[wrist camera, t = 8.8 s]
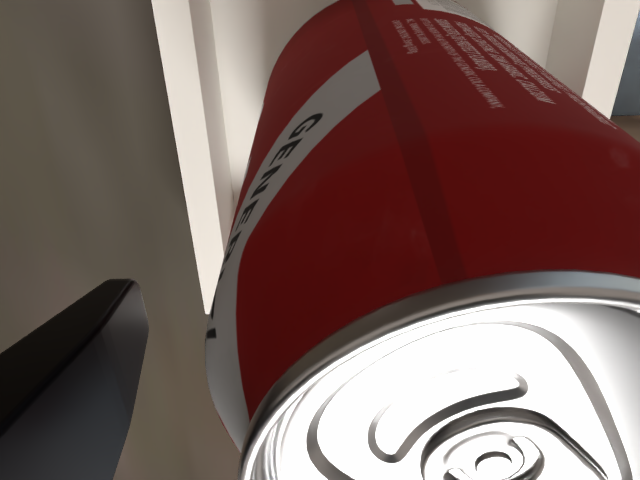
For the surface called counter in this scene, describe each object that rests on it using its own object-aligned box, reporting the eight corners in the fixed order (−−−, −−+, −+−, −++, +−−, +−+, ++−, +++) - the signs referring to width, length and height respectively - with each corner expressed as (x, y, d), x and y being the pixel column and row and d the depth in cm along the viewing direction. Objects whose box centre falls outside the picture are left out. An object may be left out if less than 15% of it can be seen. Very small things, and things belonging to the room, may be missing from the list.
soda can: (407, -82, 13) (706, 4, 3) (548, 119, 16) (952, 517, 6) (216, 101, 16) (31, 491, 5) (366, 249, 18) (429, 693, 8)
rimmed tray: (526, 251, 19) (559, 306, 16) (220, 257, 19) (205, 314, 17) (605, -114, 13) (672, -115, 11) (168, -103, 13) (134, -101, 11)
